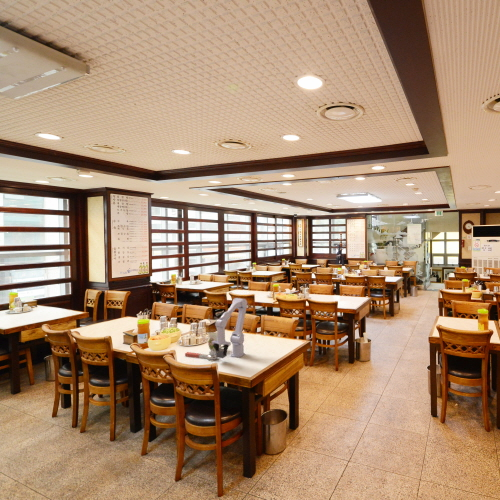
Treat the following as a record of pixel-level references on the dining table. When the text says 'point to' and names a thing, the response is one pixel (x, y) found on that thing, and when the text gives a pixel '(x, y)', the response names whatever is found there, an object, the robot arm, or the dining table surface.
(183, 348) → the dining table surface
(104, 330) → the dining table surface
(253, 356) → the dining table surface
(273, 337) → the dining table surface
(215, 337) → the pitcher
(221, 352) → the socket
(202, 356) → the ratchet
